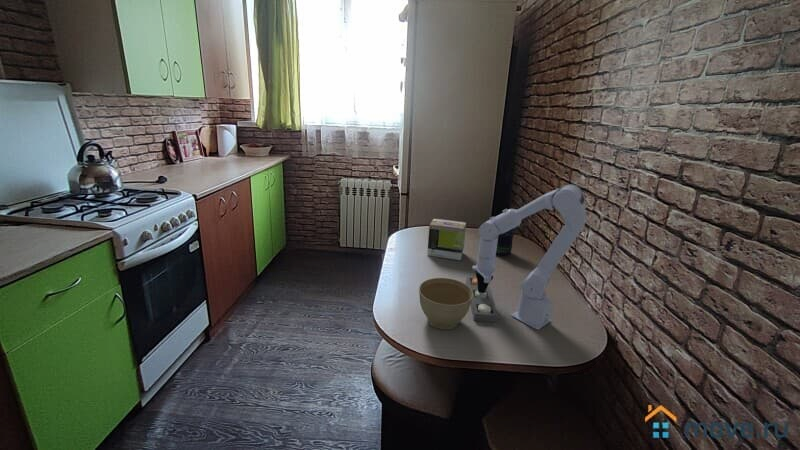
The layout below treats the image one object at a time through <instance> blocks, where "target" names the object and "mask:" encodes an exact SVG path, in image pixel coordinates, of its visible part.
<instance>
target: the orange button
mask: <svg viewBox="0 0 800 450" xmlns="http://www.w3.org/2000/svg"><path fill="white" fill-rule="evenodd" d="M472 285H477V278H474V279H472Z"/></svg>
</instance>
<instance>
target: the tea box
mask: <svg viewBox="0 0 800 450" xmlns="http://www.w3.org/2000/svg"><path fill="white" fill-rule="evenodd" d="M428 227H429V229H428V239H427V241H428V242H427V252H426V253H427V254H426V255H427V256H430V257H437V258H444V259H451V260H456V261H461V260H462V257H463V253H464V247H465V238H466V230H467V229H466V228H467V222H465V221H459V220H458V221H457V220H449V219H442V218H441V219H440V218H433V219H432V220H431V222H430V223H429V226H428Z"/></svg>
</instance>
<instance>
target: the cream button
mask: <svg viewBox="0 0 800 450" xmlns="http://www.w3.org/2000/svg"><path fill="white" fill-rule="evenodd" d="M478 312H481V313H491V307H490V306H488V305H486V304H480V305H479V306H478Z"/></svg>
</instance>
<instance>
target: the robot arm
mask: <svg viewBox="0 0 800 450" xmlns="http://www.w3.org/2000/svg"><path fill="white" fill-rule="evenodd" d="M583 193H584V192H583V191H582V189H581V188H580V187H579V186H577V185H575V184H570V183H569V184H566V185H563V186H562V187H561V188H556V189H554V190H552V191H549V192H546V193H545V194H542V195H541V196H540V197H537V198H535V199H534V200H531V201H530V202H529V203H527V204H525V205H523V206H522V207H520V208H518V209H515V208H509V209H508V208H505V209H503V210H502V213H500V214H498V215H496V216H491V217H490V218H489V219H488V220H487V221H485V222H483V223H482V224H481V225H480V226H479V228H478V236H479V243H478V251H477V256H476V257H477V258H476V264H475V265H472V267H471V268H472V270H473V271H474V273H475V277H477V286H478V292H479V293H485V291H486V289H487V286H488V287H489V284H491V283H492V280H493V279H494V276H493V274H494V272H495V268H494V267H495V262H496V250H497V241H498V235H500V234H503V233H505V232H507V231H509V230H511V229H513V228H515V229H516V228H517V227H519V226H520V225H521V224H522V220H523V219H525V218H527V217H530V216H531V215H533V214H535V213H538V212H540V211H542V210H544V209H545V210H549V211H550V210H551V211H553V210H554V209H555V210H556V211H557V212H558V213H559V215H561V217H562V220H563V222H564V225H563V227H562V228H561V230H559V232H558V234H557V235H556V237H555V239H554V240H553V242H552V243H551V244H550V246H549V247H548V250H547V251H546V252H545V254H544V256H543V257H542V259H541V260H540V262H539V263H538V265H537V266H536V268H535V269H533V270H531V271H530V272H529V274H528V276H526V278H525V280H523V282H522V283H521V286H520V287H521V288H520V289H521V292H520V296H519V302H518V307H517V310H516V311H515V312H513V313H512V314H511V317H513V318H514V319H517V320H518V321H521V323H524V324H526V325H528V326H529V327H532V328H533V329H535V330H541V328H543V327H544V326H546V325H547V324H549V323H550V322H551V316H552V310H553V307H554V302H553V301H552V300H550V299H549V298H548V297H547V293H546V287H547V286H548V285H549V282H550V277H551V275H552V273H553V272H554V271H555V269H556V268H557V266H558V265H559V263H561V260H562V259H563V257H564V256H565V254H566V253H567V252H568V250H569V249H570V248H571V246H572V244H573V243H574V242H575V240H576V238H577V237H578V235H579V234H580V232H581V231H582V230H583V228H584V227H585V225H586V222H587V220H586V218H587V217H586V197H585V195H584V194H583Z"/></svg>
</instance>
